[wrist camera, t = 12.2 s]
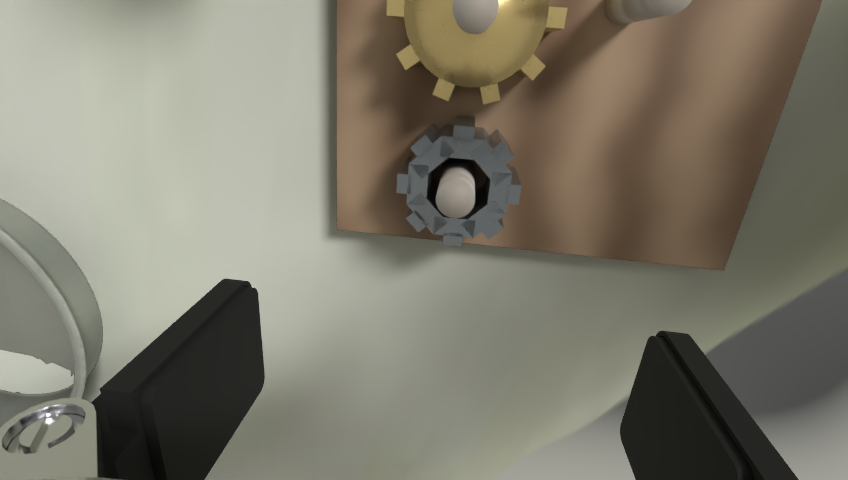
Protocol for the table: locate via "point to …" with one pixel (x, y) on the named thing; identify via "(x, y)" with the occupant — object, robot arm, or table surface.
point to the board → (583, 124)
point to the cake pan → (44, 308)
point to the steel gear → (488, 198)
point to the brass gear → (475, 43)
